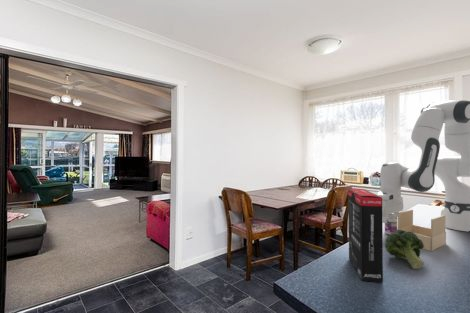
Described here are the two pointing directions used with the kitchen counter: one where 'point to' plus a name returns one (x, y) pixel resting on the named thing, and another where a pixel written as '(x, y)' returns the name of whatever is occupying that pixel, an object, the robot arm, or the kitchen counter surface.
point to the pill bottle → (391, 224)
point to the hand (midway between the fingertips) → (390, 221)
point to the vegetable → (405, 247)
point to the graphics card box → (366, 234)
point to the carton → (424, 230)
